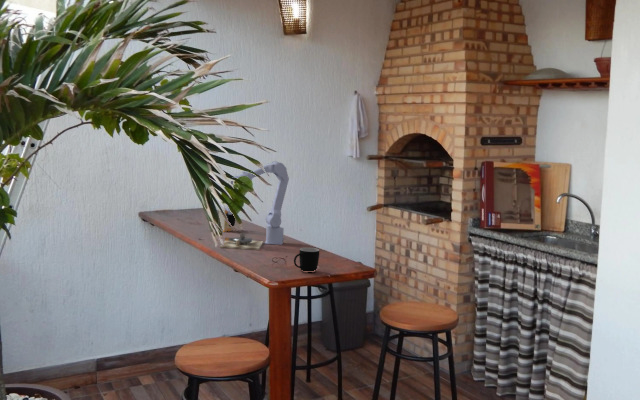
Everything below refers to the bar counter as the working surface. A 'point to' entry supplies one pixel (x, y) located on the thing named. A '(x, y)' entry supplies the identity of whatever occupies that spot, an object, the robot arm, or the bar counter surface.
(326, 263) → the bar counter surface
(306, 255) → the mug
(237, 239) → the flange
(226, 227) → the supplement box
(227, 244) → the base
